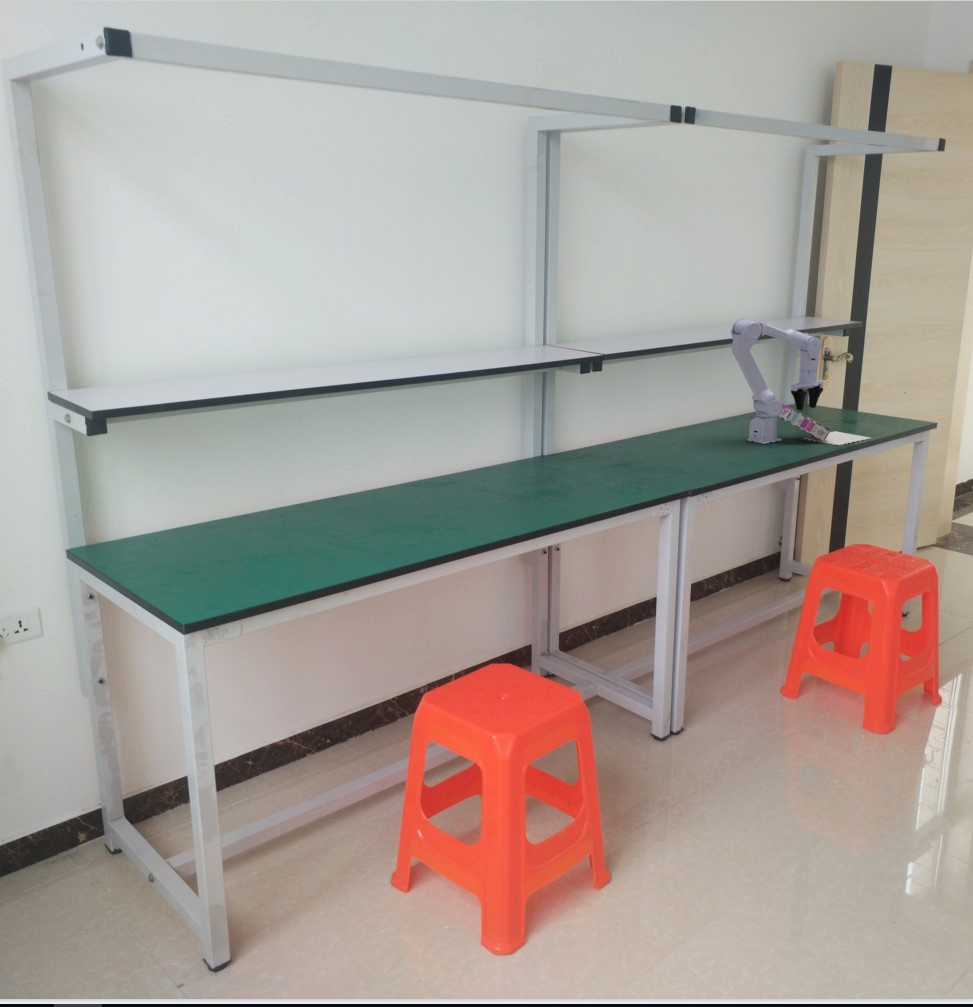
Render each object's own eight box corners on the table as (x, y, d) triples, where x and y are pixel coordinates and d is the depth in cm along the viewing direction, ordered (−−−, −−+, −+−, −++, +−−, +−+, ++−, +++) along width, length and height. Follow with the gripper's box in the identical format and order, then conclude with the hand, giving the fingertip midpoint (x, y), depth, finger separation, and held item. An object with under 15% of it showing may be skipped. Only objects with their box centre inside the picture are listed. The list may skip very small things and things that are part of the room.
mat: (838, 445, 333) (838, 444, 332) (802, 439, 345) (803, 437, 344) (871, 438, 342) (871, 437, 342) (835, 432, 354) (835, 431, 354)
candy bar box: (831, 429, 336) (793, 408, 333) (824, 442, 337) (785, 421, 334) (818, 423, 347) (780, 402, 343) (811, 435, 348) (773, 415, 344)
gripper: (803, 373, 333) (801, 412, 337) (831, 369, 341) (828, 407, 344) (787, 371, 339) (785, 410, 343) (814, 367, 346) (812, 405, 350)
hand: (806, 408), depth 344 cm, fingers open, 6 cm apart
